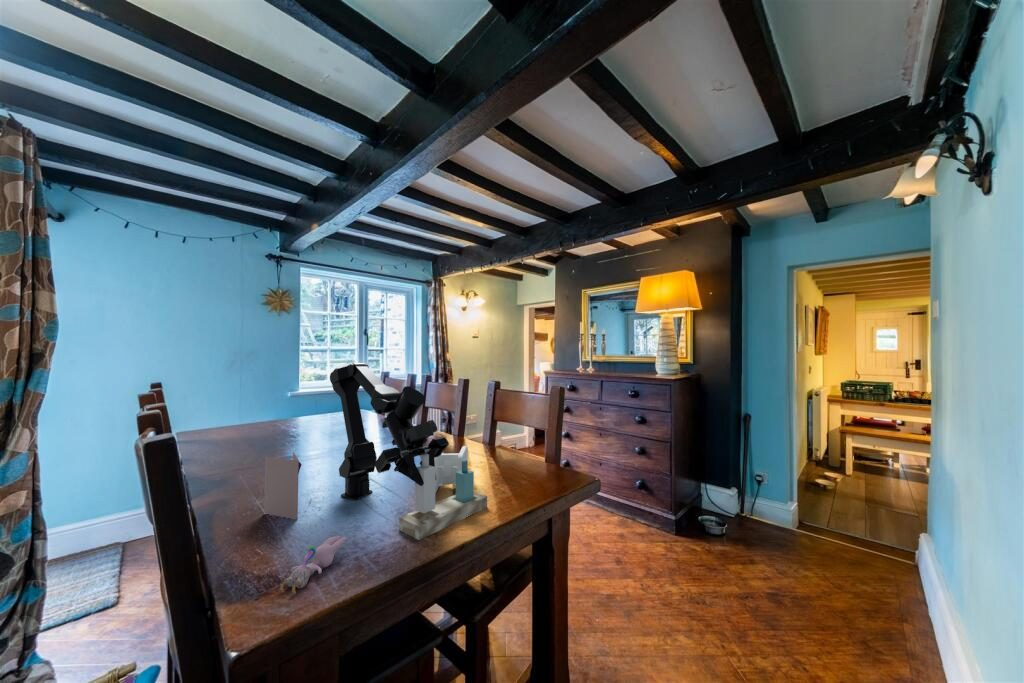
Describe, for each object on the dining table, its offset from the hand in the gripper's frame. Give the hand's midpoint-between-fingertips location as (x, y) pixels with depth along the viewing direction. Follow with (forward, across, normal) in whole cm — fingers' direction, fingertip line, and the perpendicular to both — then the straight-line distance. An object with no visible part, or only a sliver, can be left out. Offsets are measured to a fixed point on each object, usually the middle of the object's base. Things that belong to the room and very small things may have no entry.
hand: (428, 482), depth 86 cm
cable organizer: (-4, +21, +20) cm, 30 cm away
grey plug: (+4, 0, +6) cm, 7 cm away
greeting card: (-18, -19, +34) cm, 43 cm away
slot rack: (+7, +7, +9) cm, 13 cm away
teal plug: (+7, +13, +9) cm, 17 cm away
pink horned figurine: (+6, -24, +10) cm, 27 cm away
